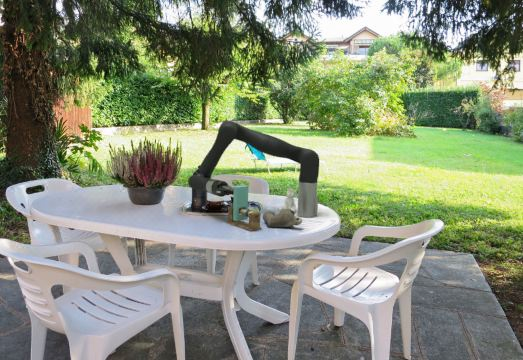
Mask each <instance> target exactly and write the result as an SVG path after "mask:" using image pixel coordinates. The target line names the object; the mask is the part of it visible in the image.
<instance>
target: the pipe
mask: <svg viewBox="0 0 523 360" xmlns="http://www.w3.org/2000/svg"><path fill="white" fill-rule="evenodd" d="M262 220H263V221H264V222H265V223H266V225H267V226H268V227H270V228H292V227H294V226H300V225H301V224H302V223H303V217H301V216H299V217H298V216H295V213H294V211H292V210H290V209H285V210H283V211H281V212H279V211H278V213H275V212H274V211H273V210H269V209H268V210H266V211H264V213H263V215H262Z"/></svg>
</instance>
